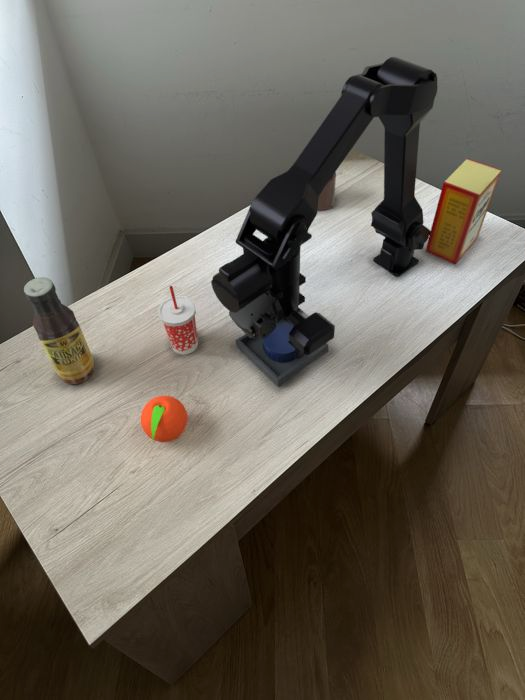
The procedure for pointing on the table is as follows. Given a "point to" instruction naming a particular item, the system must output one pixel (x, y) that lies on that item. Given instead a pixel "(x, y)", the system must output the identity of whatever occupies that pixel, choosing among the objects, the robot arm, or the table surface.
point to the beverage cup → (179, 322)
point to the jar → (327, 195)
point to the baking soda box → (462, 210)
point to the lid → (279, 344)
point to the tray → (273, 369)
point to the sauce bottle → (59, 332)
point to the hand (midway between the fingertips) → (281, 341)
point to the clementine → (164, 418)
